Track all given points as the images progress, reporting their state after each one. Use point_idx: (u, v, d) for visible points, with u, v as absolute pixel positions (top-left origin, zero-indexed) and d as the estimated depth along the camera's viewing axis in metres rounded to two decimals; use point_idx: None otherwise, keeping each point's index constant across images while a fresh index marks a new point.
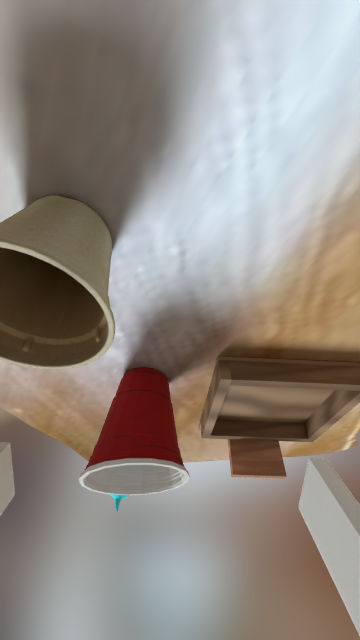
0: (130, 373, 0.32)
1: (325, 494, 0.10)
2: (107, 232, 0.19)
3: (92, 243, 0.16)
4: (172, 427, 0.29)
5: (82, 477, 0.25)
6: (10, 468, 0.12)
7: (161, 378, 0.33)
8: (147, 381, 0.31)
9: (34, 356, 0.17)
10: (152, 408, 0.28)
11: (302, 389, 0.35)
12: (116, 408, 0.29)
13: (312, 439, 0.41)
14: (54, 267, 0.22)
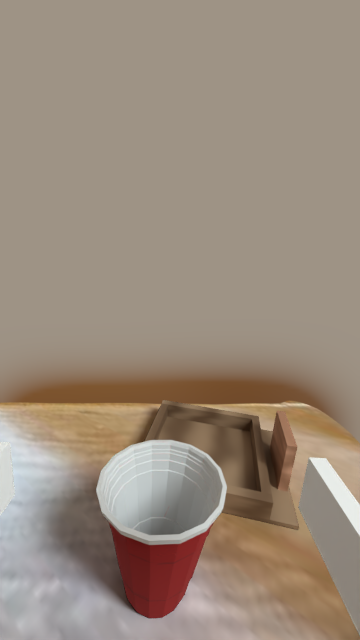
0: (125, 587, 0.24)
1: (325, 494, 0.10)
2: None
3: None
4: None
5: (117, 523, 0.19)
6: (10, 468, 0.12)
7: None
8: None
9: None
10: None
11: (188, 435, 0.45)
12: (118, 558, 0.22)
13: (252, 416, 0.48)
14: None
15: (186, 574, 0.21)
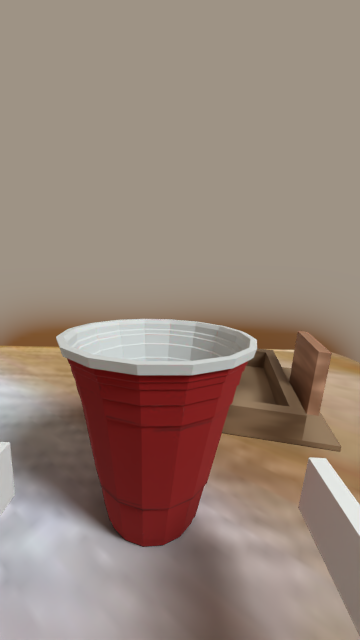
0: (107, 508, 0.16)
1: (325, 494, 0.10)
2: None
3: None
4: None
5: (84, 353, 0.11)
6: (10, 468, 0.12)
7: None
8: None
9: None
10: None
11: None
12: (93, 451, 0.15)
13: (266, 350, 0.40)
14: None
15: (199, 465, 0.14)
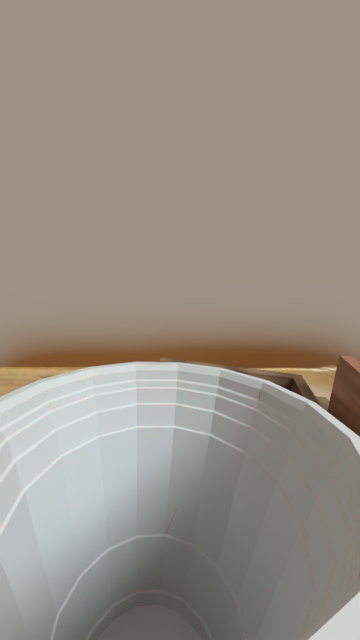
0: None
1: None
2: None
3: None
4: None
5: None
6: None
7: None
8: None
9: None
10: None
11: None
12: None
13: (292, 375, 0.32)
14: None
15: None
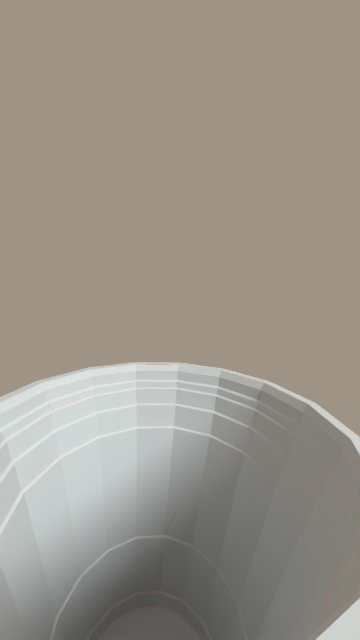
0: None
1: None
2: None
3: None
4: (135, 464, 0.12)
5: None
6: None
7: None
8: None
9: None
10: None
11: None
12: None
13: None
14: None
15: None
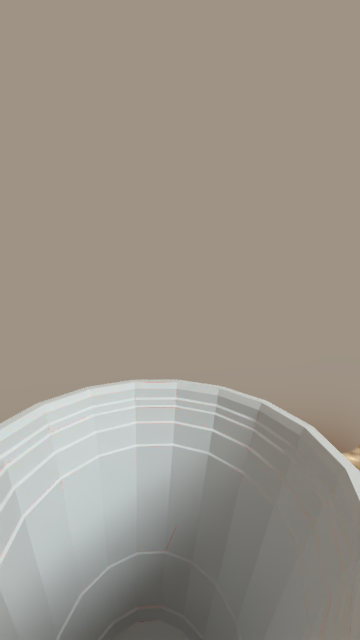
0: None
1: None
2: None
3: None
4: (135, 481, 0.12)
5: None
6: None
7: None
8: None
9: None
10: None
11: None
12: None
13: None
14: None
15: None
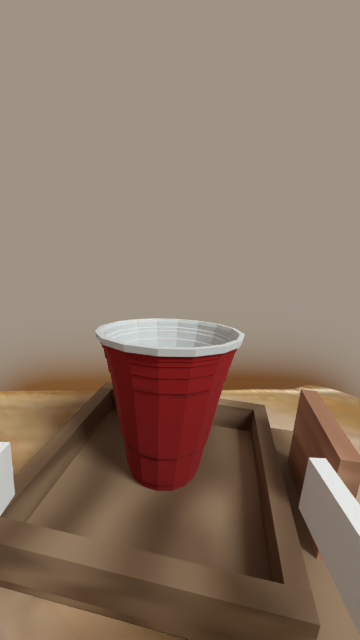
0: (129, 465, 0.21)
1: (325, 494, 0.10)
2: None
3: None
4: None
5: (119, 342, 0.16)
6: (10, 468, 0.12)
7: None
8: None
9: None
10: None
11: None
12: (120, 418, 0.19)
13: (254, 405, 0.28)
14: None
15: (200, 426, 0.18)
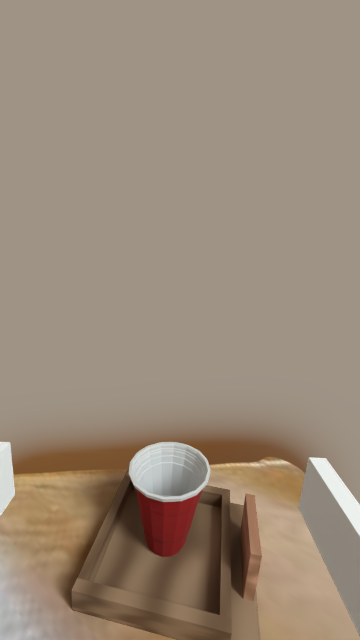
0: (146, 539, 0.37)
1: (325, 494, 0.10)
2: None
3: None
4: None
5: (144, 491, 0.32)
6: (10, 468, 0.12)
7: None
8: None
9: None
10: None
11: None
12: (142, 517, 0.35)
13: (223, 491, 0.43)
14: None
15: (185, 525, 0.34)
